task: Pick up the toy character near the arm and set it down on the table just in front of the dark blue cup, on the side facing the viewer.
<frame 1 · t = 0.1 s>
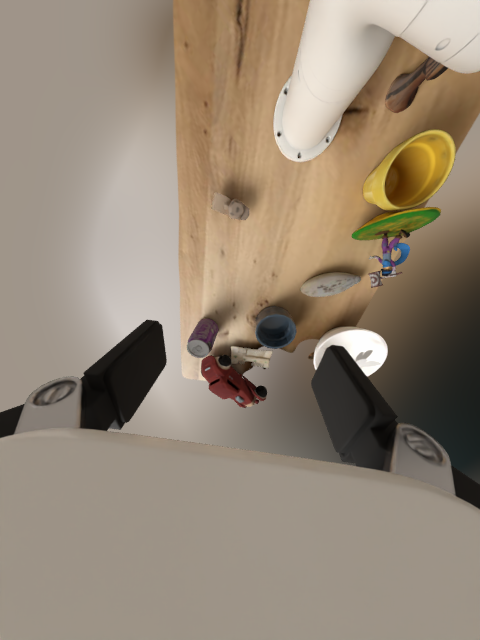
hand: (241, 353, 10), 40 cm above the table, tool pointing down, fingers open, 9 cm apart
flower pot: (378, 186, 37), on the table
pirate figurine: (391, 211, 35), point 5 cm above the table
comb: (251, 347, 57), point 2 cm above the table, touching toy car
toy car: (234, 373, 66), on the table, touching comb
decorative stone: (326, 282, 47), on the table
dark blue cup: (273, 322, 54), on the table
brown ridged tall piece: (402, 91, 30), on the table
fairy figurine: (342, 350, 47), point 9 cm above the table, touching bowl
toy character: (232, 209, 41), on the table
bowl: (337, 341, 56), on the table, touching fairy figurine
beverage can: (208, 326, 57), on the table
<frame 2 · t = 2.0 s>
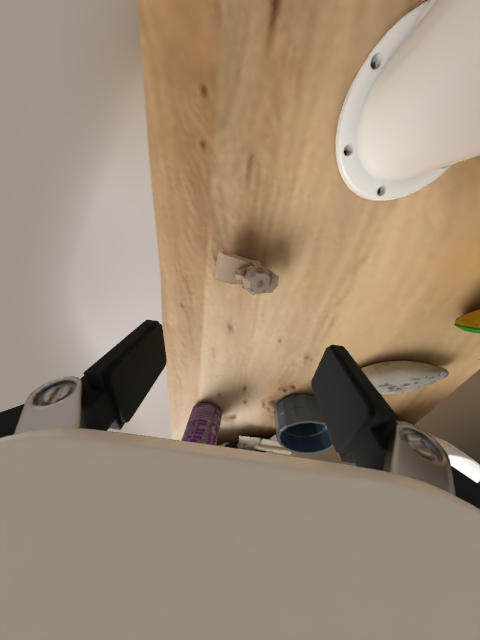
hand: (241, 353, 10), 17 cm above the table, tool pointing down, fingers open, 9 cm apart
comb: (268, 438, 41), point 2 cm above the table, touching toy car
decorative stone: (387, 370, 31), on the table
dark blue cup: (300, 409, 38), on the table
toy character: (248, 270, 24), on the table
bowl: (388, 433, 40), on the table, touching fairy figurine
beverage can: (208, 409, 41), on the table
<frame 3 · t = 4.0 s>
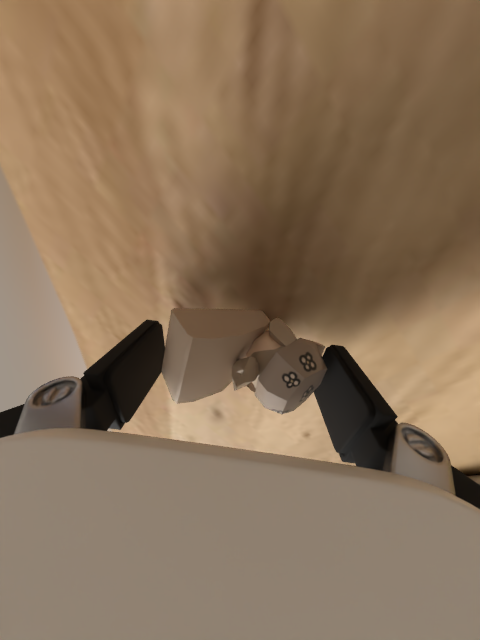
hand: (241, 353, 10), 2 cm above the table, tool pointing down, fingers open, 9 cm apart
toy character: (243, 329, 11), on the table, touching gripper
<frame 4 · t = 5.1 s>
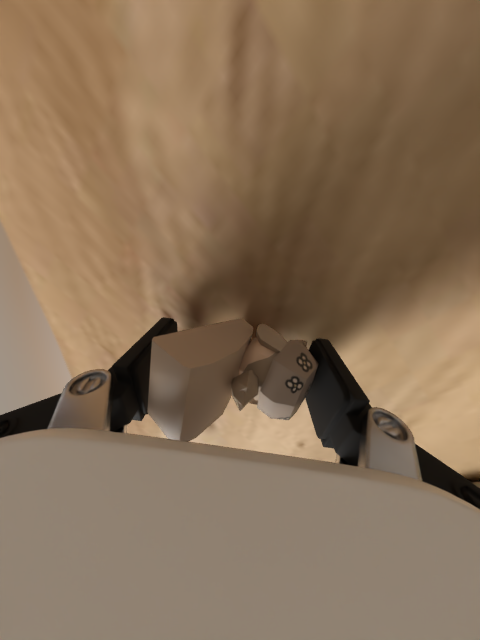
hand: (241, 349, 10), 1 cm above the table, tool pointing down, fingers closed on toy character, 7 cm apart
toy character: (226, 340, 10), point 1 cm above the table, touching gripper
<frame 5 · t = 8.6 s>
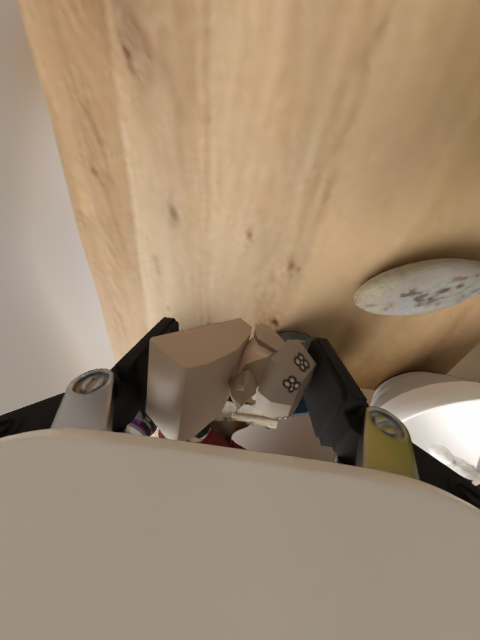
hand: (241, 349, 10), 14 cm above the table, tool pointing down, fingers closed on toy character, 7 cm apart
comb: (246, 403, 31), point 2 cm above the table
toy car: (219, 432, 40), on the table
decorative stone: (410, 283, 21), on the table
dark blue cup: (287, 359, 28), on the table
fairy figurine: (448, 438, 20), point 9 cm above the table, touching bowl
toy character: (225, 340, 10), point 14 cm above the table, touching gripper
bowl: (405, 392, 30), on the table, touching fairy figurine
beverage can: (166, 364, 31), on the table
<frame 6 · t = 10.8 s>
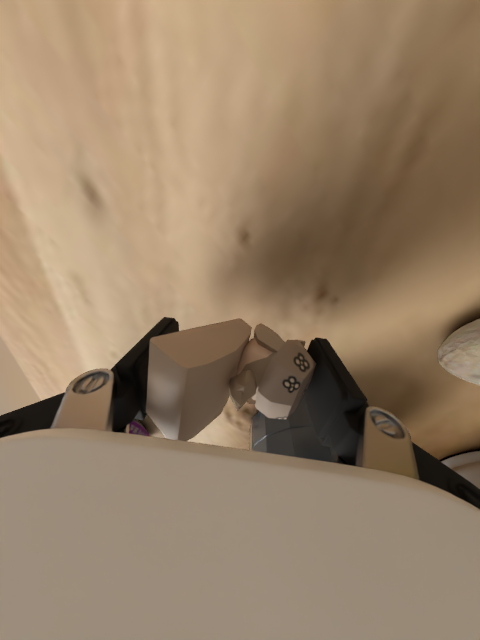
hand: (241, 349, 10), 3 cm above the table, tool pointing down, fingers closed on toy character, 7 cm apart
dark blue cup: (303, 426, 19), on the table
toy character: (225, 340, 11), point 3 cm above the table, touching gripper
bowl: (476, 469, 20), on the table, touching fairy figurine
when the fingers open (1 cm above the table, at t = 12.1 s): toy character stays where it is, on the table.
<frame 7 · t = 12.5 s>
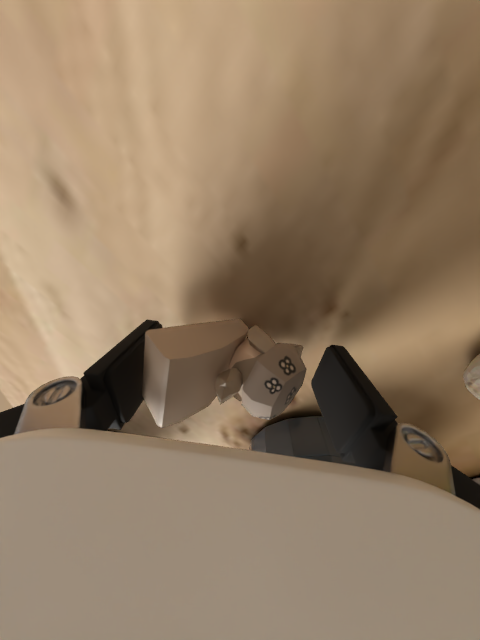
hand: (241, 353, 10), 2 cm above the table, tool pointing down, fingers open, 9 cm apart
dark blue cup: (307, 447, 17), on the table
toy character: (224, 339, 11), on the table, touching gripper
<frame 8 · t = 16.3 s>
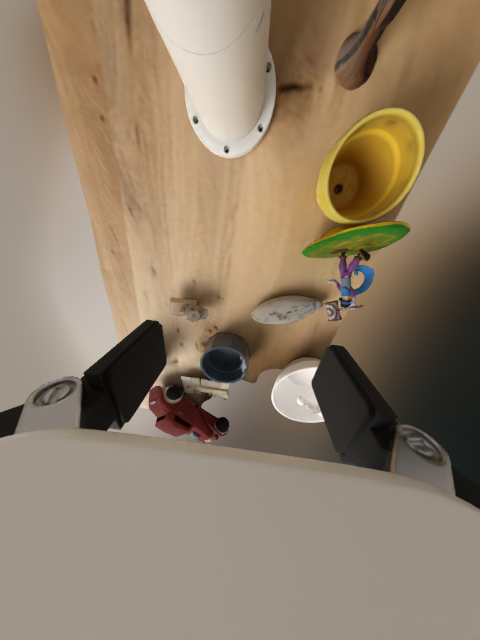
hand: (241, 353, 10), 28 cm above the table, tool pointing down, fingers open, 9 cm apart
flower pot: (335, 189, 28), on the table
pirate figurine: (349, 223, 26), point 5 cm above the table
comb: (205, 378, 48), point 2 cm above the table, touching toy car
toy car: (192, 403, 57), on the table, touching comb
decorative stone: (284, 306, 39), on the table
dark blue cup: (227, 350, 46), on the table
brown ridged tall piece: (356, 59, 22), on the table
fairy figurine: (302, 391, 38), point 9 cm above the table, touching bowl
toy character: (193, 305, 40), on the table
bowl: (304, 371, 47), on the table, touching fairy figurine
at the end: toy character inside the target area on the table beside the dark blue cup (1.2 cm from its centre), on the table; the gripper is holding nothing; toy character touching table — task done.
